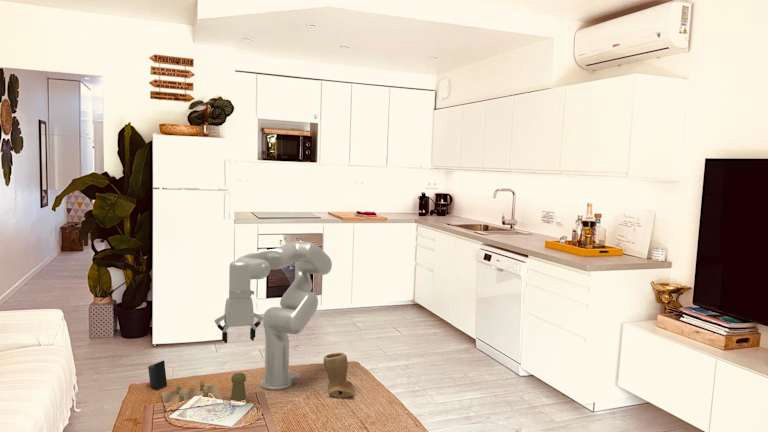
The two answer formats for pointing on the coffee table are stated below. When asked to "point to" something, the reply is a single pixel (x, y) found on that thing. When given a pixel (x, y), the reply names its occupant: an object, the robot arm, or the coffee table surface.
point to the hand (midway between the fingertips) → (238, 340)
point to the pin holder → (190, 393)
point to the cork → (238, 387)
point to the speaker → (157, 375)
